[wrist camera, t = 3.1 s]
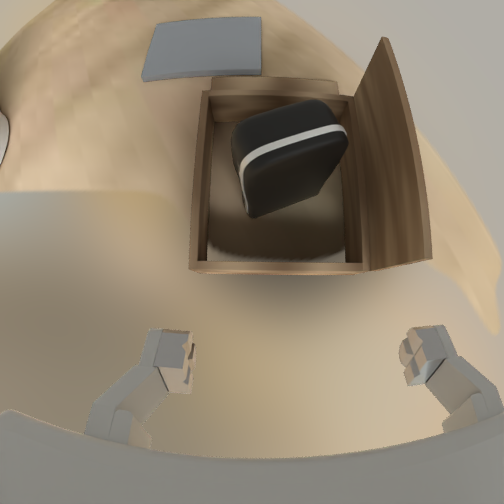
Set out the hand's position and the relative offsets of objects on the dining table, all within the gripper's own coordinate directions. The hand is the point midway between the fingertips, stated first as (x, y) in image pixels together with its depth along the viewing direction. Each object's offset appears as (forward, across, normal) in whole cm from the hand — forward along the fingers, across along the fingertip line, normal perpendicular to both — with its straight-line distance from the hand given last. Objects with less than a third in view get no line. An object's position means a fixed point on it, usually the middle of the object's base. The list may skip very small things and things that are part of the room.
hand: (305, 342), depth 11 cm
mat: (+31, +8, -10) cm, 34 cm away
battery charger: (+19, 0, +3) cm, 19 cm away
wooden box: (+20, 0, +1) cm, 20 cm away
